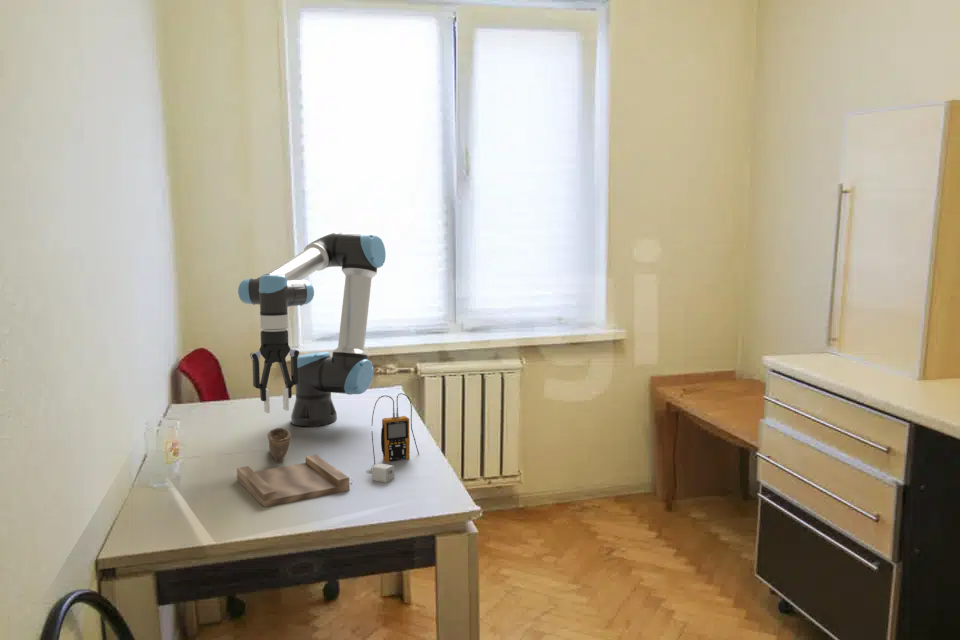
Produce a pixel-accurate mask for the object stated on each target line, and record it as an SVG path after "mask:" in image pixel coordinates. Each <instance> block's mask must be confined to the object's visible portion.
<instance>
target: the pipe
mask: <svg viewBox="0 0 960 640" xmlns="http://www.w3.org/2000/svg"><path fill="white" fill-rule="evenodd" d="M291 434H292V433H291V431H290V430H289V429H287V428H286V427H285V428H284V427H277V428H274V429H270V431H268V432H267V439H268V443H269V444H268V447H269V451H270V454H271V457H272V458H273V459H274V460H275V462H276V463H277V464H279V463H282V462H283V460H284V459H285V457H286V455H287V452H288V451H289V447H290V440H291V436H292V435H291Z"/></svg>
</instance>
